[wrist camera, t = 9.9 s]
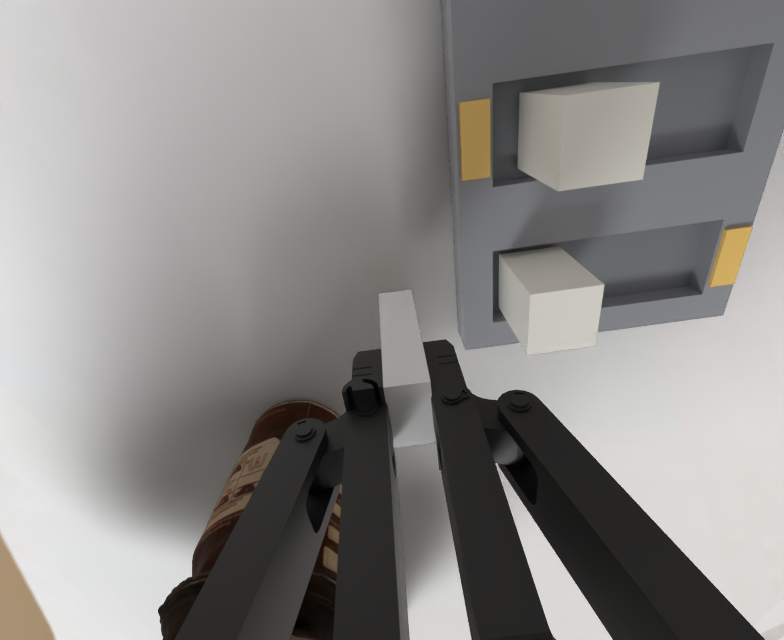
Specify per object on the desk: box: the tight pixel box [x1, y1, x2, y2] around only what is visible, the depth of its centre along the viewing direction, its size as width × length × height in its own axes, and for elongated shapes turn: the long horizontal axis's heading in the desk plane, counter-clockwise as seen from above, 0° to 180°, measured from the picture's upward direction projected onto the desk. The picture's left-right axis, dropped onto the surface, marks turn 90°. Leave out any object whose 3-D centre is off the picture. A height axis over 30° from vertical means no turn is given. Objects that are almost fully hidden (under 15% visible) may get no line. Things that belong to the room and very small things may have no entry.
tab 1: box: [518, 82, 660, 191], centre depth 16 cm, size 3×3×4 cm
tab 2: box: [499, 246, 605, 355], centre depth 19 cm, size 3×3×4 cm
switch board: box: [441, 0, 784, 350], centre depth 18 cm, size 14×21×2 cm, turn 7°
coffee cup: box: [158, 401, 342, 640], centre depth 22 cm, size 9×8×13 cm
